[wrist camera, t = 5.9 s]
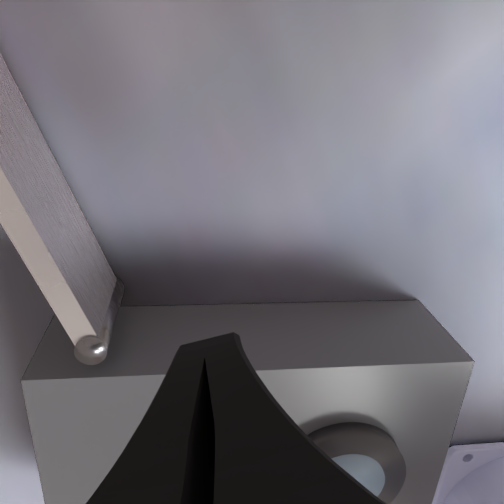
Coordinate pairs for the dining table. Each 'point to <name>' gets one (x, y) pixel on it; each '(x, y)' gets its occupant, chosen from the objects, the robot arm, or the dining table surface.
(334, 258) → the dining table surface
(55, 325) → the camera case
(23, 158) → the side door
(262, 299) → the dining table surface
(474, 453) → the robot arm
